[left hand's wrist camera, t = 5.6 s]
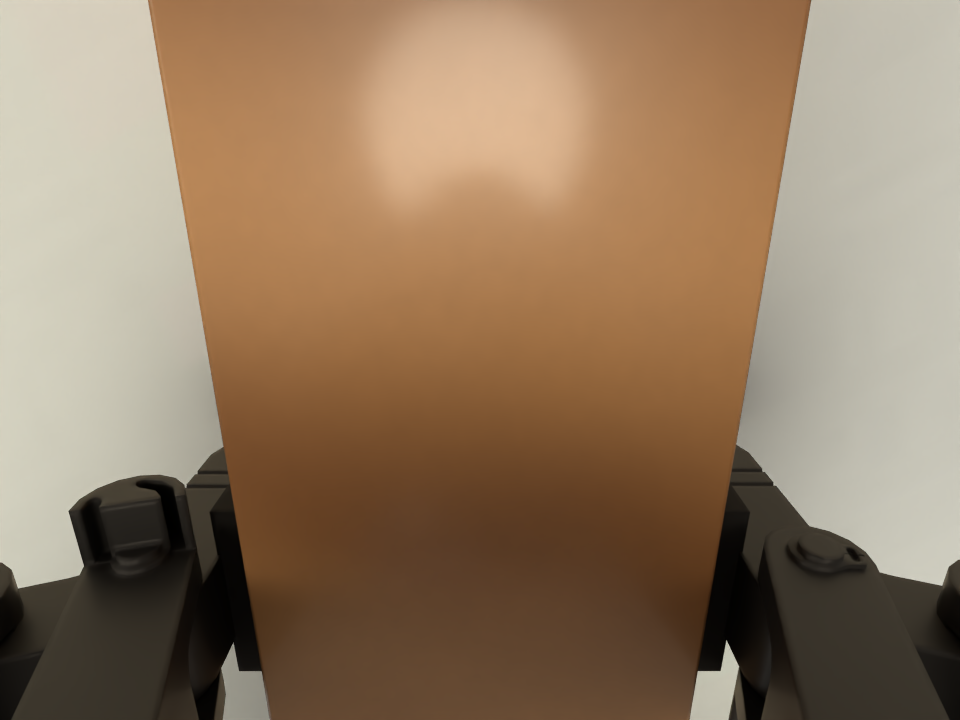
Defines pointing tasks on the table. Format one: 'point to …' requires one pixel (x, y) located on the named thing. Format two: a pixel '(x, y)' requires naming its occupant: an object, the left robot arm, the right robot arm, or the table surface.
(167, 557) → the left robot arm
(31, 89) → the table surface
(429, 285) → the bar
